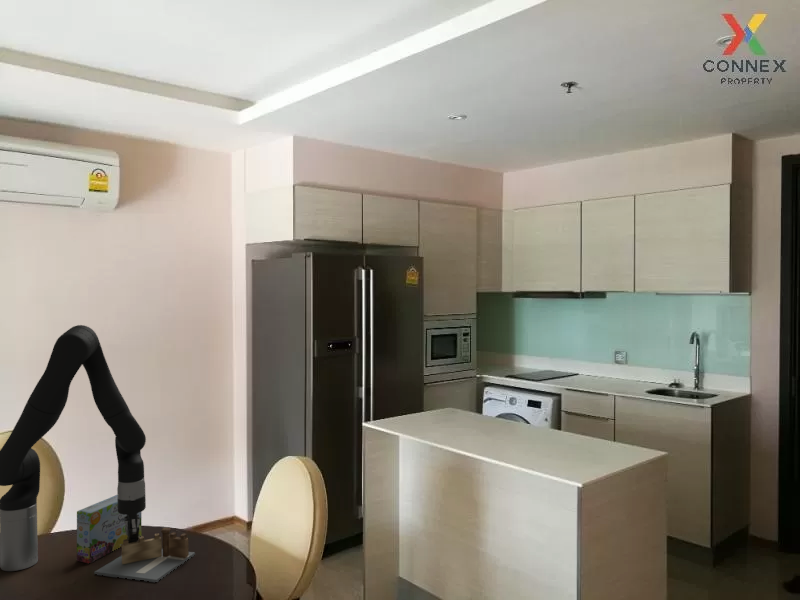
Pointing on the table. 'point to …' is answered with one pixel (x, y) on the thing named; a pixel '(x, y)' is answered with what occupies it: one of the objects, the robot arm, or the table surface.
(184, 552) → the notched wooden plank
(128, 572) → the board
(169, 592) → the table surface
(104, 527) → the snack box
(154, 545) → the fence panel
